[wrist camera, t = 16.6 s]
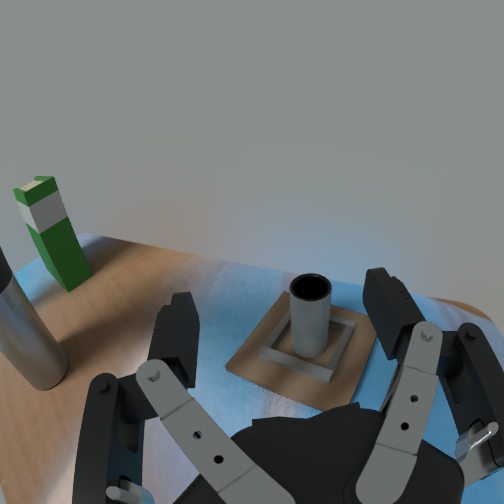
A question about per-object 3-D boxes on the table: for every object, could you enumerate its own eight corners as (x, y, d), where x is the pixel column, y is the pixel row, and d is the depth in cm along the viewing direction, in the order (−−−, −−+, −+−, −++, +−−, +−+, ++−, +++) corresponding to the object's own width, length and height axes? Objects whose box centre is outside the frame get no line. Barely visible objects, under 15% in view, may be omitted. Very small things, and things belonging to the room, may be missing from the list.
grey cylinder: (304, 326, 39) (304, 268, 33) (332, 340, 36) (339, 281, 30) (285, 348, 36) (280, 290, 30) (314, 364, 33) (317, 307, 28)
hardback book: (47, 270, 63) (13, 189, 50) (68, 256, 68) (36, 176, 55) (68, 292, 53) (23, 193, 40) (93, 274, 58) (53, 176, 45)
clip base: (226, 370, 35) (222, 359, 34) (284, 295, 46) (283, 284, 45) (342, 418, 27) (345, 409, 26) (380, 323, 38) (383, 311, 37)
